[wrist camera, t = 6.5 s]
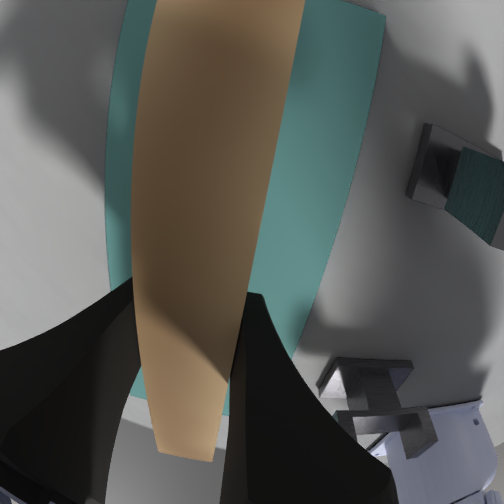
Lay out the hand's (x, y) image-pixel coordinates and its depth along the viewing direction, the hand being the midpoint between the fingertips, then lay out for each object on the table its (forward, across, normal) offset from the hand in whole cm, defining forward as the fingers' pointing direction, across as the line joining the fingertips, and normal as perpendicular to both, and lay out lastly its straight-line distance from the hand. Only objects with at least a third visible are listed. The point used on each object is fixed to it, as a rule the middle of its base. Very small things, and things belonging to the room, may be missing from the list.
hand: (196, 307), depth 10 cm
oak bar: (+1, 0, 0) cm, 1 cm away
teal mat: (+3, 0, 0) cm, 3 cm away
